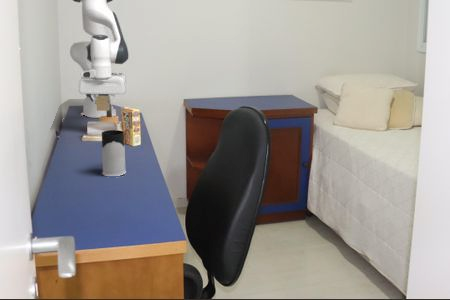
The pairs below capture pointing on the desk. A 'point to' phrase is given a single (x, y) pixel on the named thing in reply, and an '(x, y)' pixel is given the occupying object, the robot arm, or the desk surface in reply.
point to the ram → (109, 117)
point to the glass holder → (113, 153)
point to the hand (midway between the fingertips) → (103, 104)
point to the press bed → (99, 130)
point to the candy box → (131, 126)
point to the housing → (102, 103)
